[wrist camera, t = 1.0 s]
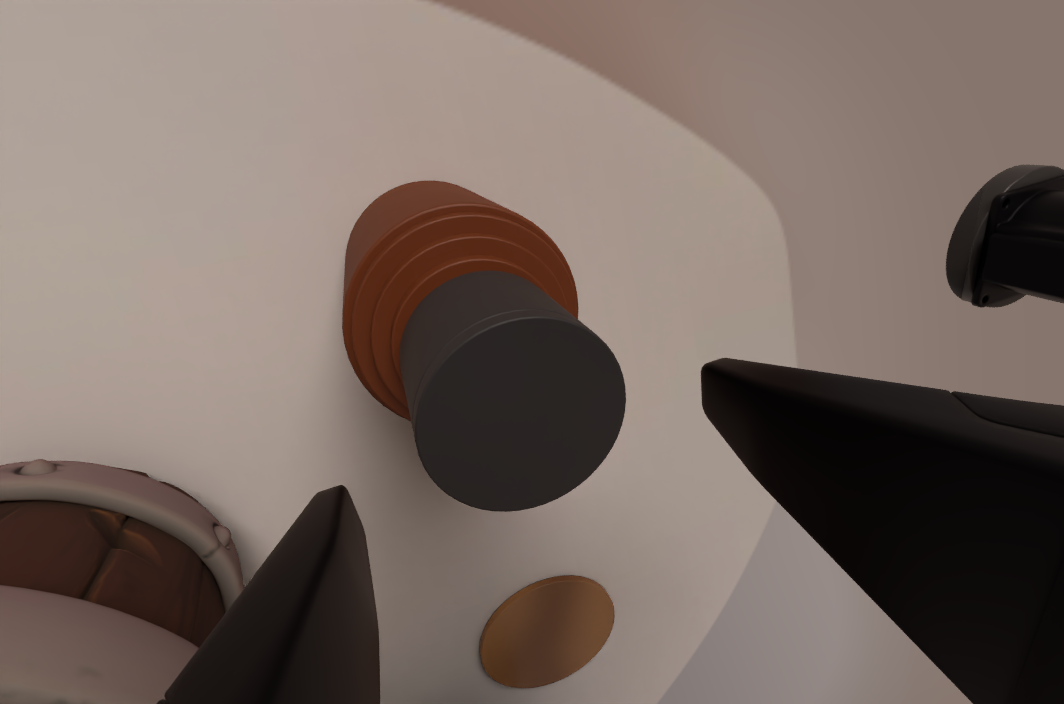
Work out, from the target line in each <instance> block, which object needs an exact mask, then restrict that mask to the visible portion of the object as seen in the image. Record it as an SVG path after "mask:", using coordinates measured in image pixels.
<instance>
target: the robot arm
mask: <svg viewBox="0 0 1064 704" xmlns="http://www.w3.org/2000/svg"><path fill="white" fill-rule="evenodd" d="M1020 294H1026V295H1031V296H1035V297H1039V298H1043V299H1048V300H1052V301H1056V302H1060V303H1064V175H1061V176H1058V177H1054V178H1051V179H1048V180H1044V181H1041V182H1037V183H1034V184H1030V185H1027V186H1024V187H1020V188H1017V189H1013V190H1010V191H1007V192H1003V193H1000V194H998V195H996V196H995V197H994V199H993V201H992V203H991V206H990V211H989V216H988V221H987V226H986V231H985V236H984V241H983V246H982V251H981V255H980V260H979V265H978V270H977V275H976V280H975V285H974V290H973V295H972V299H971V303H972V305H974V306H978V307H985V306H988V305H991V304H994V303H997V302H1000V301H1003V300H1006V299H1009V298H1011V297H1014V296H1017V295H1020ZM701 390H702V406H703V410H704V412H705V414H706V416H707V418H708V419H709V420H710V421H711V423H712V424H713V425H714V427H715V428H716V429H717V430H718V432H719V433H720V434H721V436H722V437H723V438H724V439H725V441H726V442H727V443H728V444H729V446H730V447H731V448H732V450H733V451H734V452H735V453H736V455H737V456H738V457H739V459H740V460H741V461H742V462H743V464H744V465H745V466H746V467H747V469H748V470H749V471H750V472H751V474H752V475H753V476H754V477H755V478H756V479H757V481H758V482H759V483H760V484H761V485H762V486H763V487H764V488H765V489H766V490H767V491H768V492H769V493H770V494H771V495H772V496H773V498H774V499H775V500H776V501H777V502H778V503H779V504H780V505H781V506H782V507H783V508H784V509H785V510H786V511H787V512H788V513H789V514H790V515H791V516H792V517H793V518H794V519H795V520H796V521H797V522H798V523H799V524H800V525H801V526H802V527H803V528H804V529H805V530H806V531H807V533H808V534H809V535H810V536H811V537H812V538H813V539H814V540H815V541H816V542H817V543H818V544H819V545H820V546H821V547H822V548H823V549H824V550H825V551H826V552H827V553H828V554H829V555H830V556H831V557H832V558H833V559H834V560H835V562H836V563H837V564H838V565H839V566H841V568H842V569H843V570H844V571H845V572H846V573H847V574H848V575H849V576H850V577H851V578H852V579H853V580H854V581H855V582H856V583H857V584H858V585H859V586H860V587H861V588H862V589H863V590H864V592H865V593H866V594H868V596H869V597H870V598H871V599H872V600H873V601H874V602H875V603H876V604H877V605H878V606H879V607H880V608H881V609H882V610H883V611H884V612H885V613H886V614H887V615H888V616H889V617H890V618H891V619H892V620H893V621H894V622H895V624H896V625H898V627H899V628H900V629H901V630H903V632H904V633H905V634H906V635H907V636H908V637H909V638H910V639H911V640H912V641H913V642H914V643H915V644H916V645H917V646H918V647H919V648H920V649H921V650H922V651H923V652H924V653H925V654H926V656H927V657H928V658H929V659H930V660H931V661H932V662H933V663H934V664H935V665H936V666H937V667H938V668H939V669H940V670H941V671H942V672H943V673H944V674H945V675H946V676H947V677H948V678H949V679H950V680H951V681H952V682H953V683H954V684H955V685H956V687H957V688H958V689H959V690H960V691H961V692H962V693H963V694H964V695H965V696H966V697H967V698H968V699H969V700H970V701H971V702H972V703H973V704H1064V406H1061V405H1053V404H1044V403H1035V402H1027V401H1019V400H1013V399H1005V398H997V397H990V396H982V395H976V394H969V393H962V392H956V391H955V392H952V393H950V392H949V391H947V390H941V389H935V388H928V387H921V386H914V385H907V384H901V383H893V382H887V381H880V380H873V379H866V378H860V377H852V376H846V375H839V374H832V373H825V372H818V371H812V370H805V369H798V368H791V367H784V366H778V365H771V364H764V363H757V362H750V361H744V360H737V359H730V358H721V359H718V360H715V361H712V362H709V363H706V364H704V366H703V367H702V369H701ZM164 697H165V699H166V700H165V699H162V700H159V701H158V702H157V704H380V661H379V629H378V620H377V611H376V604H375V597H374V590H373V583H372V576H371V569H370V563H369V556H368V549H367V542H366V536H365V532H364V528H363V525H362V522H361V520H360V518H359V515H358V513H357V511H356V508H355V506H354V504H353V501H352V499H351V496H350V494H349V492H348V490H347V488H346V487H344V486H343V485H339V486H336V487H333V488H330V489H327V490H324V491H321V492H318V493H317V494H316V495H315V496H314V497H313V498H312V500H311V501H310V502H309V504H308V505H307V506H306V508H305V509H304V510H303V512H302V513H301V514H300V515H299V517H298V518H297V519H296V521H295V522H294V523H293V525H292V526H291V527H290V529H289V530H288V531H287V533H286V534H285V535H284V537H283V538H282V539H281V541H280V542H279V543H278V545H277V546H276V547H275V548H274V550H273V551H272V552H271V554H270V555H269V556H268V558H267V559H266V560H265V562H264V563H263V564H262V566H261V567H260V568H259V570H258V571H257V572H256V574H255V575H254V576H253V577H252V579H251V580H250V581H249V583H248V584H247V585H246V587H245V588H244V589H243V591H242V592H241V593H240V595H239V596H238V597H237V599H236V600H235V601H234V603H233V604H232V605H231V607H230V608H229V609H228V610H227V612H226V613H225V614H224V616H223V617H222V618H221V620H220V621H219V622H218V624H217V625H216V626H215V628H214V629H213V630H212V632H211V633H210V634H209V636H208V637H207V638H206V639H205V641H204V642H203V643H202V645H201V646H200V647H199V649H198V650H197V651H196V653H195V654H194V655H193V657H192V658H191V659H190V661H189V662H188V663H187V665H186V666H185V667H184V669H183V670H182V671H181V672H180V674H179V675H178V676H177V678H176V679H175V680H174V682H173V683H172V684H171V686H170V687H169V688H168V690H167V691H166V692H165V695H164Z"/></svg>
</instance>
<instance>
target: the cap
mask: <svg viewBox="0 0 1064 704" xmlns="http://www.w3.org/2000/svg"><path fill="white" fill-rule="evenodd" d="M399 361H400V370H401V374H402V379H403V384H404V389H405V394H406V399H407V404H408V408H409V413H410V418H411V423H412V428H413V432H414V437H415V442H416V446H417V450H418V455H419V457H420V460H421V462H422V464H423V467H424V468H425V470H426V472H427V473H428V475H429V476H430V478H431V479H432V480H433V481H434V482H435V483H436V485H437V486H438V487H439V488H441V489H442V490H443V491H444V492H445V493H447V494H448V495H449V496H451V497H453V498H454V499H456V500H458V501H459V502H462V503H464V504H466V505H469V506H471V507H475V508H479V509H483V510H489V511H505V512H507V511H519V510H524V509H529V508H534V507H537V506H540V505H543V504H546V503H548V502H551V501H553V500H555V499H558V498H559V497H561V496H563V495H565V494H567V493H568V492H570V491H571V490H573V489H574V488H576V487H577V486H579V485H580V484H581V483H582V482H583V481H585V480H586V479H587V478H588V477H589V476H590V475H591V474H592V473H593V472H594V471H595V470H596V469H597V468H598V467H599V466H600V464H601V463H602V462H603V460H604V459H605V458H606V456H607V455H608V453H609V452H610V450H611V449H612V447H613V445H614V443H615V441H616V439H617V437H618V434H619V431H620V429H621V426H622V422H623V418H624V413H625V404H626V393H625V384H624V379H623V374H622V371H621V369H620V366H619V363H618V361H617V360H616V358H615V356H614V354H613V353H612V351H611V350H610V349H609V347H608V346H607V344H606V343H604V342H603V341H602V340H601V339H600V338H599V337H598V336H597V335H596V334H595V333H594V332H592V331H591V330H590V329H589V328H588V327H586V326H585V325H584V324H583V323H581V322H580V321H579V320H578V319H577V318H575V317H574V316H573V315H572V314H570V313H569V312H568V311H567V310H566V309H564V308H563V307H562V306H561V305H560V304H558V303H557V302H556V301H555V300H553V299H552V298H551V297H550V296H549V295H547V294H546V293H545V292H544V291H542V290H541V289H540V288H539V287H537V286H536V285H535V284H533V283H532V282H530V281H528V280H526V279H524V278H522V277H520V276H517V275H514V274H511V273H506V272H502V271H477V272H472V273H467V274H464V275H461V276H458V277H455V278H453V279H451V280H449V281H447V282H445V283H443V284H441V285H440V286H438V287H437V288H435V289H434V290H433V291H432V292H430V293H429V294H428V295H427V296H426V297H425V298H424V299H423V300H422V301H421V302H420V303H419V304H418V306H417V307H416V308H415V310H414V311H413V313H412V314H411V316H410V318H409V320H408V322H407V324H406V326H405V329H404V331H403V334H402V338H401V343H400V352H399Z"/></svg>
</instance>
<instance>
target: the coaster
mask: <svg viewBox="0 0 1064 704" xmlns="http://www.w3.org/2000/svg"><path fill="white" fill-rule="evenodd" d="M613 623H614V606H613V603H612V600H611V598H610V596H609V595H608V593H607V592H606V590H605V589H604V588H603V587H602V586H601V585H600V584H598V583H597V582H595V581H593V580H591V579H588V578H585V577H581V576H572V575H571V576H557V577H552V578H548V579H544V580H541V581H539V582H536V583H534V584H531V585H529V586H527V587H525V588H524V589H522V590H520V591H518V592H517V593H516V594H514V595H513V596H511V597H510V598H509V599H508V600H506V601H505V602H504V603H503V604H502V605H501V606H500V607H499V608H498V609H497V610H496V611H495V613H494V614H493V615H492V616H491V618H490V619H489V621H488V623H487V624H486V626H485V629H484V631H483V633H482V637H481V641H480V656H481V660H482V664H483V666H484V669H485V670H486V672H487V673H488V674H489V676H490V677H492V678H493V679H494V680H495V681H497V682H499V683H501V684H503V685H506V686H510V687H515V688H533V687H539V686H544V685H547V684H551V683H554V682H556V681H559V680H561V679H563V678H565V677H567V676H569V675H571V674H572V673H574V672H576V671H577V670H579V669H580V668H582V667H583V666H584V665H585V664H587V663H588V662H589V661H590V660H591V659H592V658H593V657H594V656H595V655H596V654H597V653H598V652H599V651H600V649H601V648H602V647H603V645H604V644H605V642H606V641H607V639H608V637H609V635H610V633H611V630H612V627H613Z"/></svg>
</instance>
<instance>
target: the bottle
mask: <svg viewBox="0 0 1064 704" xmlns="http://www.w3.org/2000/svg"><path fill="white" fill-rule="evenodd" d="M477 271H502V272H506V273H511V274H514V275H517V276H520V277H522V278H524V279H526V280H528V281H530V282H532V283H533V284H535V285H536V286H537V287H539V288H540V289H541V290H542V291H544V292H545V293H546V294H547V295H549V296H550V297H551V298H552V299H553V300H555V301H556V302H557V303H558V304H560V305H561V306H562V307H563V308H564V309H566V310H567V311H568V312H569V313H570V314H572V315H573V316H574V317H575V318H577V319H578V298H577V291H576V286H575V282H574V278H573V275H572V273H571V270H570V267H569V265H568V263H567V261H566V259H565V258H564V256H563V254H562V252H561V251H560V250H559V248H558V247H557V245H556V244H555V243H554V242H553V240H552V239H551V238H550V237H549V236H548V235H547V234H546V233H545V232H544V231H543V230H541V229H540V228H539V227H538V226H536V225H535V224H534V223H533V222H531V221H529V220H528V219H526V218H524V217H523V216H521V215H519V214H517V213H515V212H513V211H511V210H509V209H507V208H505V207H502V206H500V205H498V204H496V203H494V202H492V201H490V200H488V199H486V198H484V197H482V196H480V195H478V194H475V193H473V192H471V191H469V190H467V189H465V188H462V187H460V186H457V185H454V184H450V183H447V182H440V181H418V182H412V183H408V184H404V185H401V186H398V187H396V188H394V189H392V190H389V191H388V192H386V193H384V194H383V195H381V196H380V197H378V198H377V199H376V200H375V201H374V202H372V203H371V204H370V205H369V206H368V207H367V208H366V210H365V211H364V212H363V213H362V214H361V216H360V217H359V219H358V220H357V222H356V224H355V226H354V228H353V230H352V232H351V234H350V238H349V241H348V244H347V250H346V257H345V277H344V296H343V324H342V329H343V336H344V344H345V347H346V351H347V354H348V358H349V360H350V363H351V365H352V367H353V369H354V371H355V373H356V375H357V376H358V378H359V379H360V381H361V383H362V384H363V386H364V387H365V388H366V389H367V390H368V391H369V393H370V394H371V395H372V396H373V397H374V398H375V399H376V400H378V401H379V402H380V403H381V404H382V405H383V406H385V407H386V408H388V409H389V410H391V411H392V412H394V413H395V414H397V415H399V416H401V417H403V418H405V419H407V420H409V421H411V418H410V413H409V408H408V404H407V399H406V394H405V389H404V384H403V379H402V374H401V370H400V361H399V352H400V343H401V338H402V334H403V331H404V329H405V326H406V324H407V322H408V320H409V318H410V316H411V314H412V313H413V311H414V310H415V308H416V307H417V306H418V304H419V303H420V302H421V301H422V300H423V299H424V298H425V297H426V296H427V295H428V294H429V293H430V292H432V291H433V290H434V289H435V288H437V287H438V286H440V285H441V284H443V283H445V282H447V281H449V280H451V279H453V278H455V277H458V276H461V275H464V274H467V273H472V272H477Z"/></svg>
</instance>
